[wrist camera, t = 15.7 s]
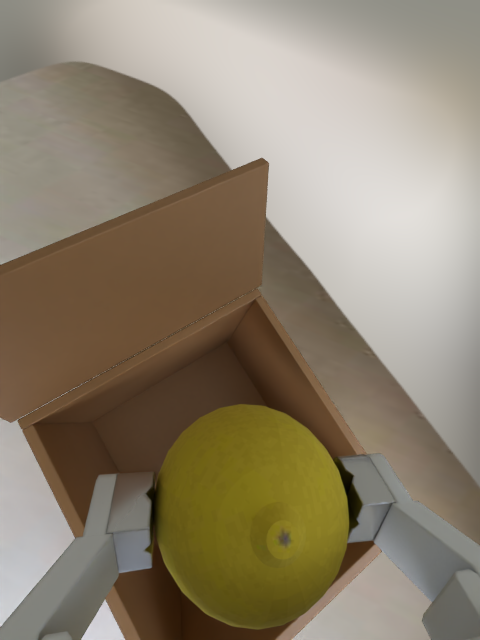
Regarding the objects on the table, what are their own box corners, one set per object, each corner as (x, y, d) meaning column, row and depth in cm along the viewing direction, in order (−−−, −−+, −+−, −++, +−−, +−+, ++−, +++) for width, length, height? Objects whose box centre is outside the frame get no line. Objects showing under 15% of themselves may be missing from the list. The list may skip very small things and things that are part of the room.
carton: (178, 596, 21) (178, 749, 11) (84, 419, 23) (16, 420, 13) (319, 481, 25) (412, 522, 15) (228, 336, 27) (257, 287, 17)
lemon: (308, 518, 14) (457, 631, 7) (181, 575, 13) (184, 801, 5) (266, 391, 15) (350, 365, 8) (146, 431, 14) (107, 446, 6)
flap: (-157, 341, 7) (-158, 328, 8) (10, 423, 13) (8, 414, 13) (269, 162, 11) (262, 156, 11) (261, 285, 16) (257, 280, 16)
